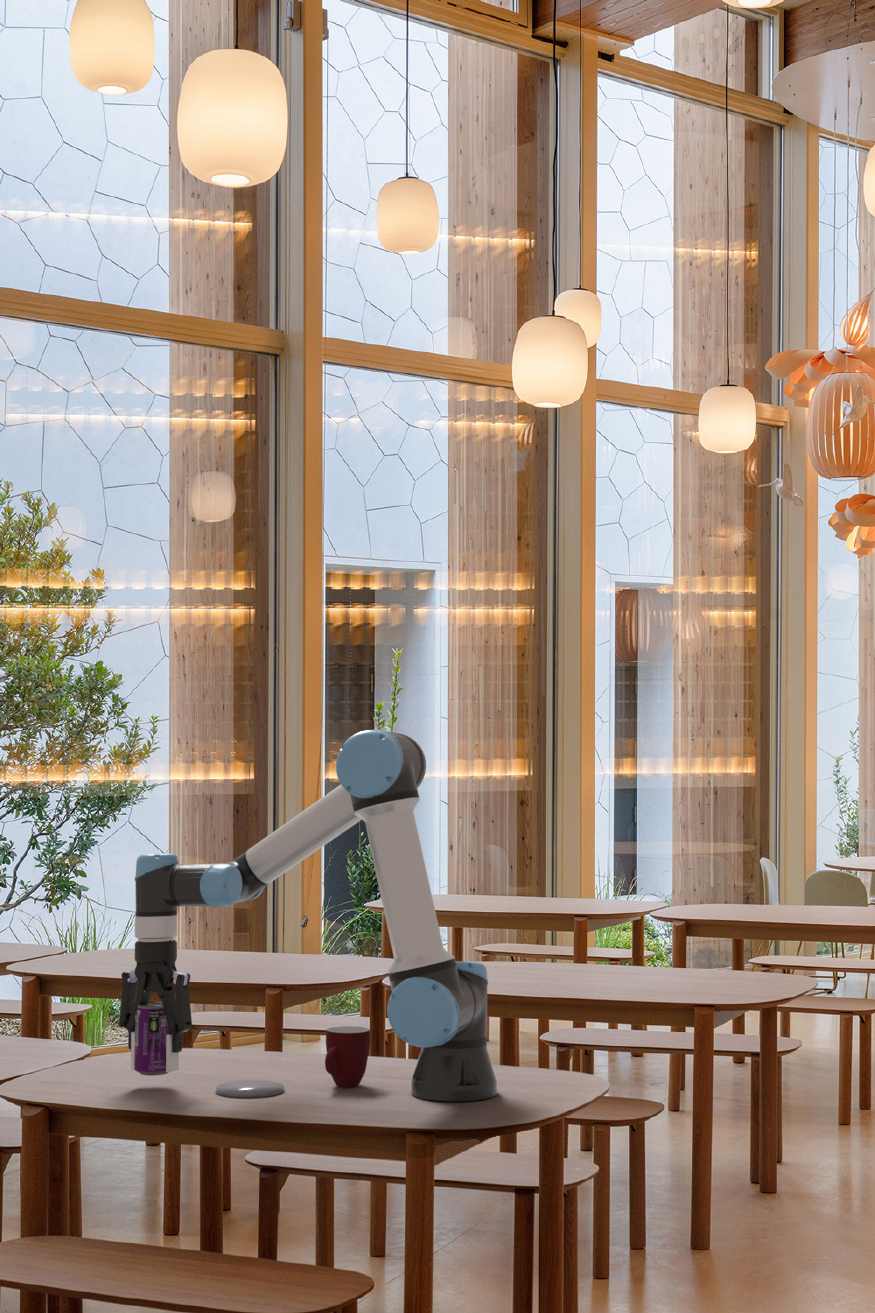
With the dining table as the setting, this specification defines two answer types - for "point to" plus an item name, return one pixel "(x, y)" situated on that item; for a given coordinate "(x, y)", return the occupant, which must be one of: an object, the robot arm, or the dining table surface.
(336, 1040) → the mug
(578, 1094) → the dining table surface
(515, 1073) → the dining table surface
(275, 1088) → the coaster
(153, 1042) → the beverage can
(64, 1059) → the dining table surface
